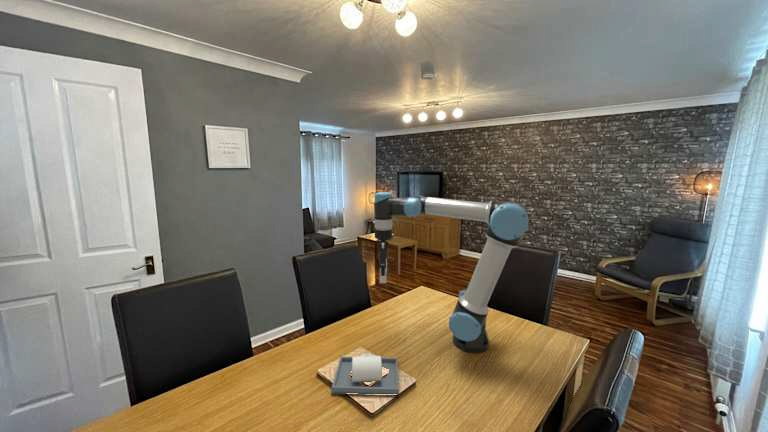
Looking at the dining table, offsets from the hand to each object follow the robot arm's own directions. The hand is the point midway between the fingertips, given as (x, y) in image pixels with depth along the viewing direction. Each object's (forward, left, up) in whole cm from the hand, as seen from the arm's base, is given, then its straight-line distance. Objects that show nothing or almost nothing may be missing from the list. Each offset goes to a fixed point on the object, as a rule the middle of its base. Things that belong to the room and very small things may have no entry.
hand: (383, 277), depth 130 cm
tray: (+5, +27, -28) cm, 39 cm away
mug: (+5, +27, -27) cm, 38 cm away
